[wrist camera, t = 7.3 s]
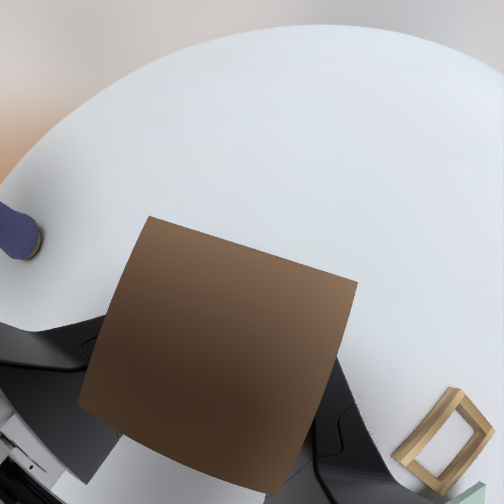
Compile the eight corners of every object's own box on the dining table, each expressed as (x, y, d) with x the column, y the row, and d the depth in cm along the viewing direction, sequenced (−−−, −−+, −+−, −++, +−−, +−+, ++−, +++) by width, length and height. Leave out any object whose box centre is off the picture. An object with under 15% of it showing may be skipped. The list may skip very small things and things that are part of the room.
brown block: (274, 389, 15) (277, 496, 3) (216, 368, 16) (77, 404, 4) (294, 332, 16) (357, 282, 4) (237, 313, 17) (148, 216, 5)
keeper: (433, 490, 12) (442, 496, 11) (391, 455, 14) (399, 462, 13) (484, 428, 13) (495, 430, 12) (449, 387, 15) (460, 388, 14)
